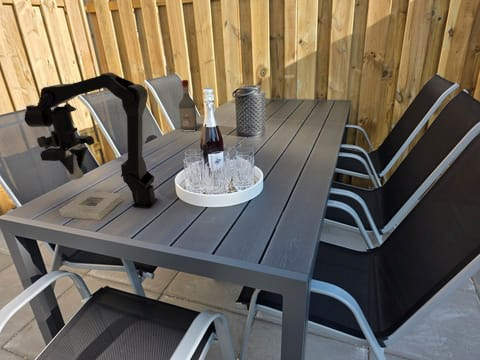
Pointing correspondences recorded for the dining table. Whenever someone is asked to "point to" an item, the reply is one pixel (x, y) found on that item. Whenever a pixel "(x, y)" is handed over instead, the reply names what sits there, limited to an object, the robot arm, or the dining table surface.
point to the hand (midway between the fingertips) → (75, 171)
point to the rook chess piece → (76, 170)
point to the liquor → (187, 109)
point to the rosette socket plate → (82, 210)
